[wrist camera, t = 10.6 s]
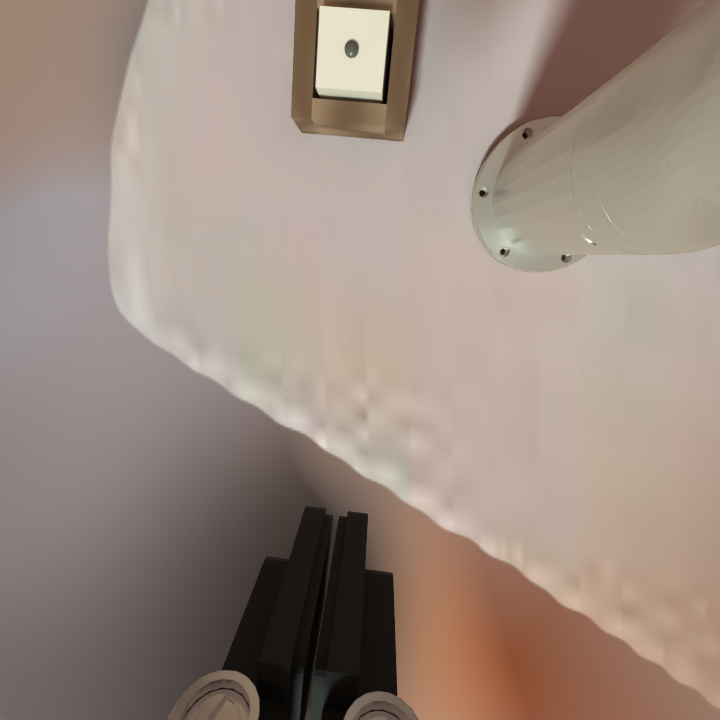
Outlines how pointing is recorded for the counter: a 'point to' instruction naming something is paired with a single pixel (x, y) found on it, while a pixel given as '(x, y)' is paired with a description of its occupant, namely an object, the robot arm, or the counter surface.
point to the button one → (352, 54)
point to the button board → (349, 114)
